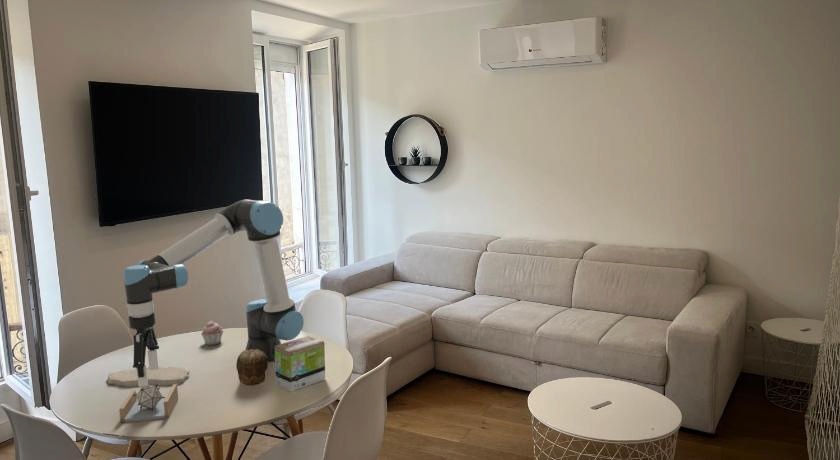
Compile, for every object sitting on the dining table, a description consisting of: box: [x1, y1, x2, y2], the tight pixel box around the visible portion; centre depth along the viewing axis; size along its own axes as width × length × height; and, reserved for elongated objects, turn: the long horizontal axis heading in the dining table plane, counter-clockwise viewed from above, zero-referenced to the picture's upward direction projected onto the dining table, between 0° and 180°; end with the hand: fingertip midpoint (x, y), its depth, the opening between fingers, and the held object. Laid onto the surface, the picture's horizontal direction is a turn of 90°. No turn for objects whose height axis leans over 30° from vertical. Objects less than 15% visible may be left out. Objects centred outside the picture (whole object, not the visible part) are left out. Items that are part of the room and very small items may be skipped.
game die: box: [133, 384, 166, 411], centre depth 202 cm, size 9×8×10 cm
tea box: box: [274, 335, 326, 393], centre depth 222 cm, size 15×10×15 cm
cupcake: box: [200, 320, 225, 346], centre depth 267 cm, size 9×9×10 cm
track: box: [118, 384, 179, 423], centre depth 203 cm, size 14×14×6 cm
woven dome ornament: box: [235, 349, 269, 386], centre depth 224 cm, size 11×11×12 cm
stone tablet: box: [107, 366, 191, 387], centre depth 231 cm, size 16×30×2 cm, turn 91°
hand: (148, 377), depth 202 cm, fingers open, 13 cm apart
